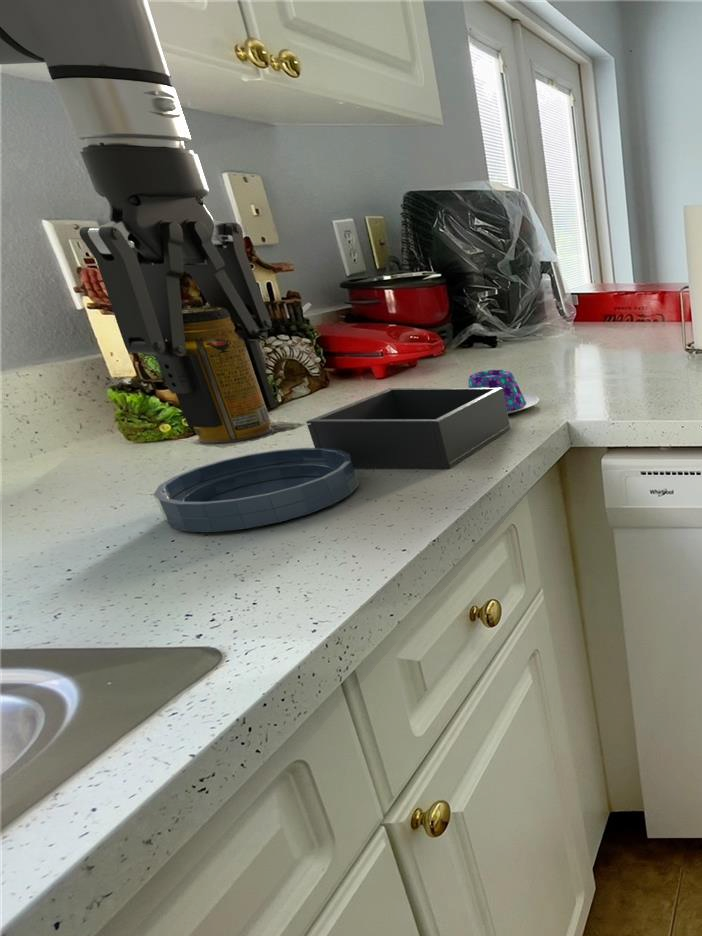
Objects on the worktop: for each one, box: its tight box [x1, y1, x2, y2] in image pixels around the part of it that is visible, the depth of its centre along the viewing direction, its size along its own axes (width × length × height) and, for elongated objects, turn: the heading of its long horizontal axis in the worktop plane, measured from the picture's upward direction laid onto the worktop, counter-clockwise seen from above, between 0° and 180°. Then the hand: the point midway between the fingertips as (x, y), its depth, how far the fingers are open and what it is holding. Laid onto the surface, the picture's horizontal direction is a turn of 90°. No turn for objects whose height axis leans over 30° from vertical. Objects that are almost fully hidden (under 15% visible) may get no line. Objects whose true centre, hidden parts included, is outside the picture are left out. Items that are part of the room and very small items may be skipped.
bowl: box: [153, 447, 359, 533], centre depth 72 cm, size 16×16×3 cm
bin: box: [305, 387, 512, 470], centre depth 87 cm, size 16×16×6 cm
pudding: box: [467, 369, 540, 415], centre depth 104 cm, size 12×12×5 cm
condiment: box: [165, 306, 309, 449], centre depth 68 cm, size 7×8×12 cm
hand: (234, 415), depth 69 cm, fingers closed on condiment, 6 cm apart
